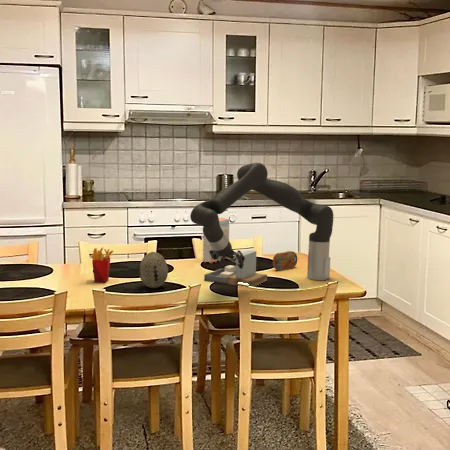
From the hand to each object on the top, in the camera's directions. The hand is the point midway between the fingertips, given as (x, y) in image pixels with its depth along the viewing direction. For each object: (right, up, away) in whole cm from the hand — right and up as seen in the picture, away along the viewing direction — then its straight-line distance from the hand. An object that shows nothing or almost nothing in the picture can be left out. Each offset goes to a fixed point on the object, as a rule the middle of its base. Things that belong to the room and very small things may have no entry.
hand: (232, 265), depth 255 cm
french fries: (-55, -8, +6) cm, 56 cm away
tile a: (0, -4, +18) cm, 18 cm away
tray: (-4, -7, +17) cm, 19 cm away
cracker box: (-8, -1, +53) cm, 54 cm away
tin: (+25, -4, +39) cm, 47 cm away
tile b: (-2, -7, +13) cm, 15 cm away
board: (+6, -8, +11) cm, 15 cm away
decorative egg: (-33, -9, -1) cm, 34 cm away
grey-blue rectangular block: (+6, -5, +11) cm, 14 cm away
